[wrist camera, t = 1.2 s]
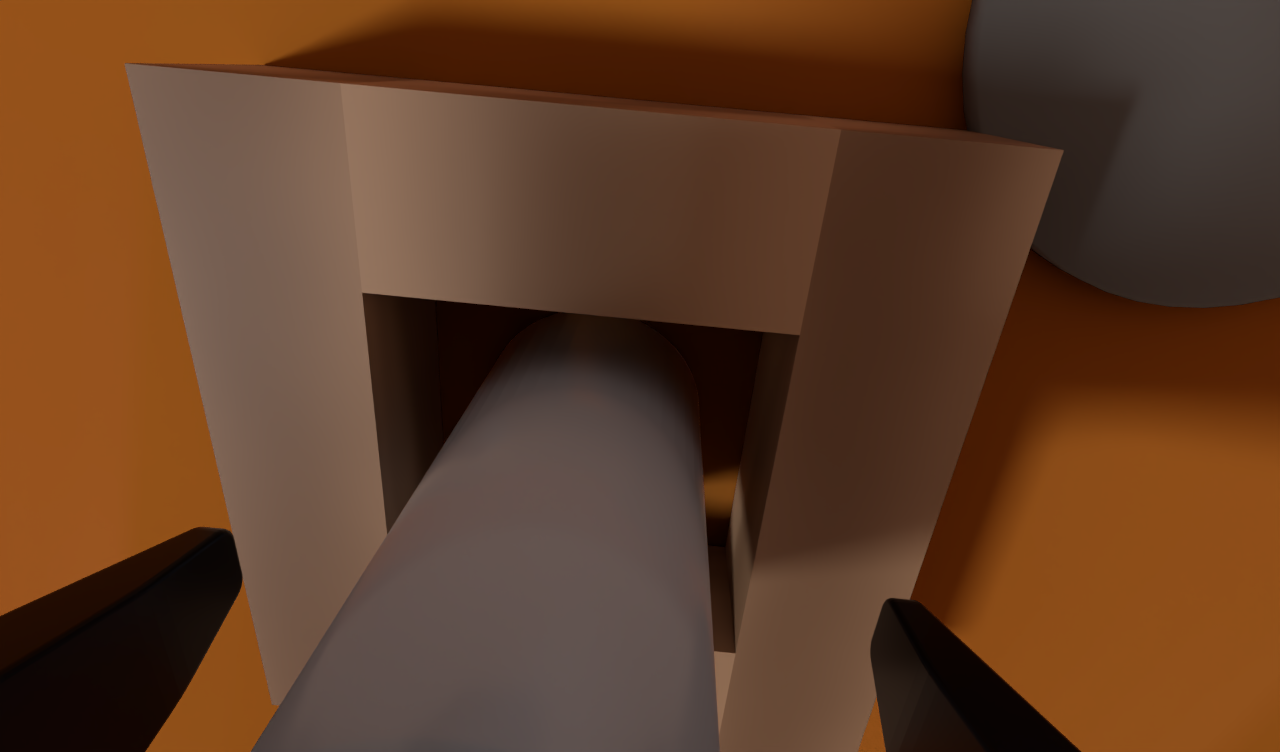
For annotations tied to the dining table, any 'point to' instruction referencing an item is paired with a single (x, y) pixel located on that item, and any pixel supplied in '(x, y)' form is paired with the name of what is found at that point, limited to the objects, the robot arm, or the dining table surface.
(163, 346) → the dining table surface
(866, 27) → the dining table surface
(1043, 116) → the coaster
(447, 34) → the dining table surface
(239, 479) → the frame
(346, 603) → the grey rounded cylinder
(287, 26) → the dining table surface
